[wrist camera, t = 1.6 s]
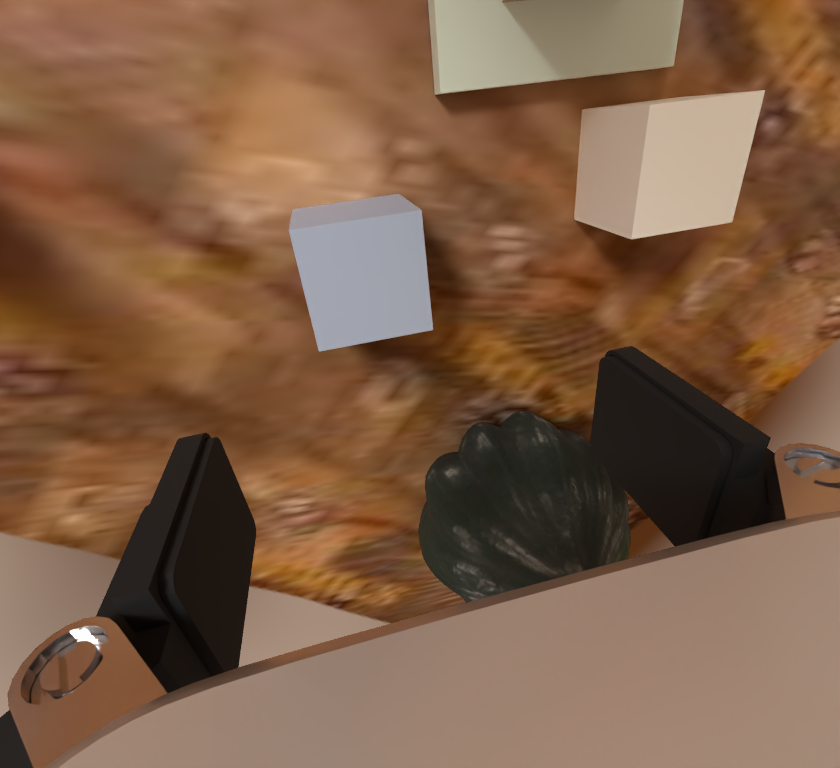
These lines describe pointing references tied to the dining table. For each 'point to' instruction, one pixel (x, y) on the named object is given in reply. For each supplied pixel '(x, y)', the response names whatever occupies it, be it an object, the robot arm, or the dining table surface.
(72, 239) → the dining table surface
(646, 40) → the baseplate
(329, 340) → the slate brick
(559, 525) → the squash
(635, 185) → the cream brick
